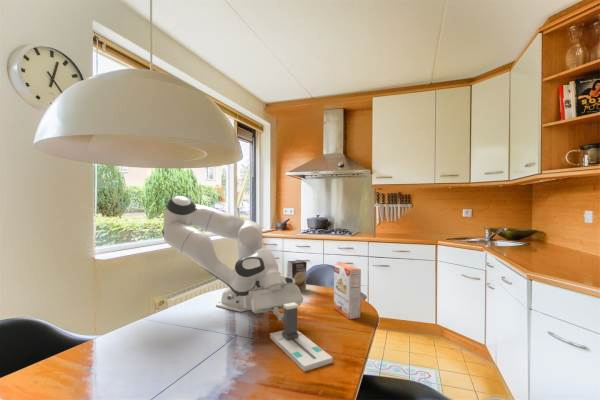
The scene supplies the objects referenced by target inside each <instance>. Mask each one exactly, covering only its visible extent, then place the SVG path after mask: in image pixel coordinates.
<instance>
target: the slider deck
mask: <svg viewBox="0 0 600 400" xmlns="http://www.w3.org/2000/svg"><path fill="white" fill-rule="evenodd" d="M282 332H284V329H283V330H278V331H275V332H271V333H269V339H271V341H272V342H274V344H276V345H277V347H279V348H280V349H281V350H282V351H283V352H284V353H285V355H286V356H287V357H289V358H290V359H291V361H293V362H294V364H296V365H297V366H298V367H299V368H300V369H301V370H302V371H303V372H307V371H311V370H314V369H318V368H320V367H323V366H326V365H330V364H333V362H334V361H333V359H334V357H333V356H331V355H330V354H329V353H327V352H326V351H325V350H323V348H321V347H319V345H317V344H316V343H314V342H313V341H312V340H311V339H310V338H308V337H307V336H306V335H304V334H303V333H302V332H300V331H299V330H298V329H297V333H298V334H299V337H298V338H294V339H290V340H287V339H285V338H284V337H283V336H282Z"/></svg>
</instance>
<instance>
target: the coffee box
mask: <svg viewBox="0 0 600 400" xmlns="http://www.w3.org/2000/svg"><path fill="white" fill-rule="evenodd" d="M286 266H287V267H286V268H287V269H286V270H287V272H286V273H287V274H286V277H288V278H293V279H294V280H295V285H297V286H298V288H299V289H300V292H305V291H306V290H307V261H305V260H300V259H298V260H288V261H287V265H286Z"/></svg>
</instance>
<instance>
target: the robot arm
mask: <svg viewBox="0 0 600 400" xmlns="http://www.w3.org/2000/svg"><path fill="white" fill-rule="evenodd" d="M193 226H194V227H193ZM162 227H163V228H162V230H161V231H162V236H163V239H164V241H165V243H166V244H168V246H170V247H171V248H173V249H174V250H176V251H177V252H179V253H180V254H182V255H185V256H186V257H188V259H191V260H192V261H194V262H195V263H196V264H198V265H199V266H200V267H201V268H202V269H203V270H204V271H206V272H208V273H209V274H210V275H212V276H214V277H215V278H216V279H218V280H220V281H221V282H222V283H224V284H225V285H227V286H228V287H227V288H225V289H224V290H223V292H222V295H221V299H219V300H218V301H217V302H216V305H215V306H216V307H218V308H222V309H227V310H230V311H236V312H242V313H243V312H246V311H251V312H253V313H254V314H261V313H265V312H270V311H272V314H274V315H275V316H276V317H277V320H278V321H279V322H280V321H281V322H282V321H284V307H283V304H287V303H293V302H295V303H296V304H298V307H299V306H301V304H302V303H303V301H304V296H303V294H302V291H300V289H299V288H298V286H297V285H295V280H294V279H293V278H288V277H287V276H283V275H282V274H281V272H280V271H279V265H278V262H277V259H276V257H275V256H274V253H273V252H272V251H271V250H270V249H268V248H263V228H262V227H261V225H260V224H259V223H258V222H256V221H252V220H250V219H247V218H243V217H241V216H236V215H233V214H231V213H229V212H228V213H227V212H225V211H223V210H220V209H217V208H214V207H211V206H207V205H202V204H196V203H195V202H194V201H192V199H190V198H189V197H187V196H185V195H176V196H172V197H170V198H169V200H168V202H167V204H166V209H165V212H164V216H163V226H162ZM195 227H197V228H199V229H200V230H199V229H197V228H195ZM201 230H203V231H205V232H208V233H211V234H215V235H217V236H219V237H223V238H226V239H232V240H234V241H235V240H236V241H237V256H238V257H237V258H238V260H237V261H236V262H235V265H234V269H233V268H231V267H229V266H228V265H227V264H225V263H223V262H222V261H221V260H220V259H219V257H218V256H217V254H216V251H215V247H214V243H213V241H212V239H211V238H210V237H209V235H207V234H206V233H205V232H203V231H201ZM279 310H281V311H282V312H283V313H280V311H279Z"/></svg>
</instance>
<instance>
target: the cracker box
mask: <svg viewBox="0 0 600 400" xmlns="http://www.w3.org/2000/svg"><path fill="white" fill-rule="evenodd" d="M361 271H362V270H361V269H360V268H359V267H356V266H353V265H351V264H348V263H345V262H339V263H337V262H336V263H334V264H333V309H335V310H336V311H337V312H338V313H340V315H341V314H342V315H343V316H344V317H345V318H346V319H348V320H355V319H360V318H361V311H362V310H361V306H362V305H361V302H362V299H361V296H362V295H361V294H362V293H361V291H362V289H361V285H362V283H361V281H362V278H361V277H362V272H361Z"/></svg>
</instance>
